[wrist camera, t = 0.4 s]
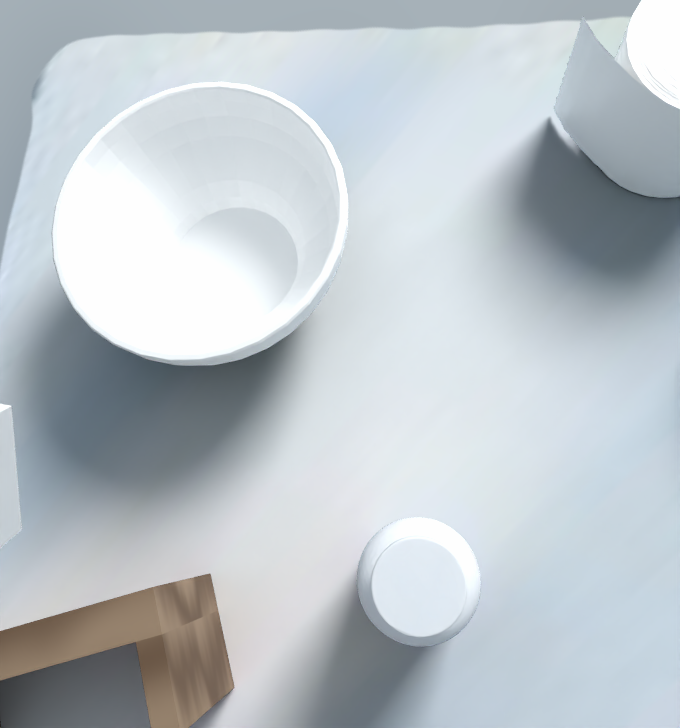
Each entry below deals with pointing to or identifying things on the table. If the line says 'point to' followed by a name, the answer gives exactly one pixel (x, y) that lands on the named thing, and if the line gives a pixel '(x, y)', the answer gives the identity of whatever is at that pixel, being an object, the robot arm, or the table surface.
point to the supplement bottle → (418, 581)
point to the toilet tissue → (629, 101)
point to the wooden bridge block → (139, 646)
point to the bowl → (201, 224)
